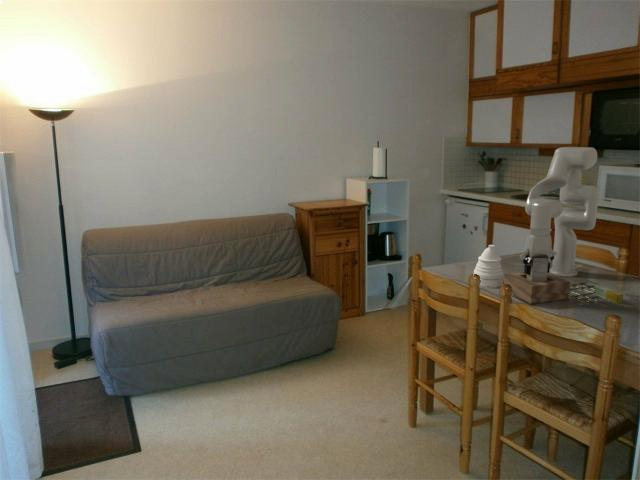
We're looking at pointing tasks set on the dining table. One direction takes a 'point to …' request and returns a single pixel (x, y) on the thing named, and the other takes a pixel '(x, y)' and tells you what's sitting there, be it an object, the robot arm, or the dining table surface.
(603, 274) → the dining table surface
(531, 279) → the coffee box
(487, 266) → the honey pot
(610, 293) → the medication box
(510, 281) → the well block
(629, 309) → the dining table surface
